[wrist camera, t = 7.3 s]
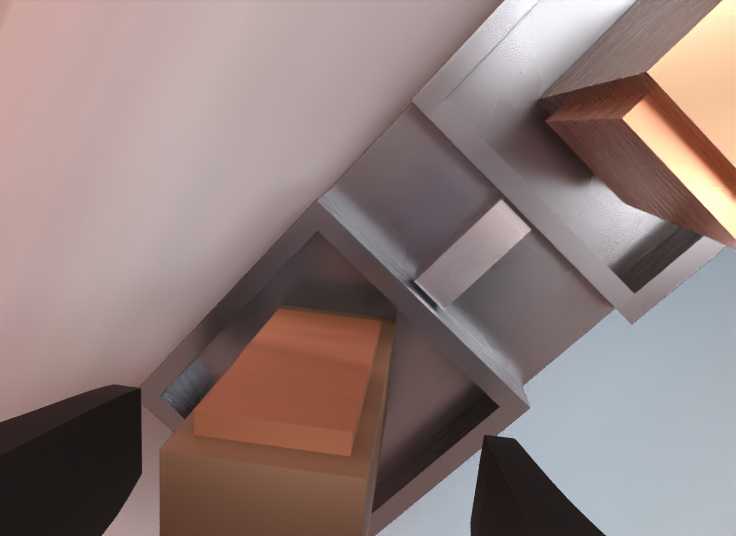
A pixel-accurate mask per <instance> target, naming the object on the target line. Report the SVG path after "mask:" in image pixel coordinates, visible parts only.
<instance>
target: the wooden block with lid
mask: <svg viewBox="0 0 736 536" xmlns="http://www.w3.org/2000/svg"><path fill="white" fill-rule="evenodd" d="M395 324H396V318H389V317H381V316H372V315H364V314H355V313H347V312H338V311H330V310H321V309H313V308H304V307H296V306H287V305H280V307H279V308H278V309H277V310H276V311H275V313H274V314H273V315H272V316H271V317H270V319H269V320H268V321H267V322H266V323H265V325H264V326H263V327H262V328H261V329H260V331H259V332H258V333H257V334H256V335H255V337H254V338H253V339H252V340H251V341H250V343H249V344H248V345H247V346H246V347H245V349H244V350H243V351H242V352H241V353H240V355H239V356H238V357H237V358H236V359H235V361H234V362H233V363H232V364H231V365H230V367H229V368H228V369H227V370H226V371H225V373H224V374H223V375H222V376H221V377H220V379H219V380H218V381H217V382H216V383H215V384H214V386H213V387H212V388H211V389H210V390H209V392H208V393H207V394H206V395H205V396H204V398H203V399H202V400H201V401H200V402H199V404H198V405H197V406H196V407H195V408H194V410H193V411H192V412H191V413H190V414H189V416H188V417H187V418H186V419H185V420H184V422H183V423H182V424H181V425H180V426H179V428H178V429H177V430H176V431H175V432H174V434H173V435H172V436H171V437H170V438H169V440H168V441H167V442H166V443H165V444H164V446H163V447H162V448H161V449H160V536H368V531H369V525H370V518H371V512H372V505H373V499H374V492H375V486H376V479H377V473H378V466H379V460H380V453H381V447H382V440H383V434H384V427H385V419H386V410H387V400H388V391H389V381H390V372H391V362H392V353H393V343H394V334H395Z"/></svg>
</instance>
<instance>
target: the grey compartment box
mask: <svg viewBox="0 0 736 536" xmlns="http://www.w3.org/2000/svg"><path fill="white" fill-rule="evenodd" d="M411 101H412V103H411V104H410V105H409V106H408V107H407V108H406V109H405V110H404V111H403V112H402V114H401V115H400V116H399V117H398V118H397V119H396V120H395V121H394V122H393V123H392V124H391V125H390V126H389V127H388V128H387V129H386V130H385V131H384V133H383V134H382V135H381V136H380V137H379V138H378V139H377V140H376V141H375V142H374V143H373V144H372V145H371V146H370V147H369V148H368V149H367V151H366V152H365V153H364V154H363V155H362V156H361V157H360V158H359V159H358V160H357V161H356V162H355V163H354V164H353V165H352V166H351V167H350V169H349V170H348V171H347V172H346V173H345V174H344V175H343V176H342V177H341V178H340V179H339V180H338V181H337V182H336V183H335V184H334V185H333V186H332V188H331V189H330V190H329V191H328V192H327V193H326V194H324V195H323V196H321V197H320V198H318V199H317V200H316V201H315V202H314V203H313V204H312V205H311V206H310V207H309V208H308V209H307V210H306V211H305V212H304V213H303V214H302V216H301V217H300V218H299V219H298V220H297V221H296V222H295V223H294V224H293V225H292V226H291V227H290V228H289V229H288V230H287V231H286V232H285V234H284V235H283V236H282V237H281V238H280V239H279V240H278V241H277V242H276V243H275V244H274V245H273V246H272V247H271V248H270V249H269V250H268V252H267V253H266V254H265V255H264V256H263V257H262V258H261V259H260V260H259V261H258V262H257V263H256V264H255V265H254V266H253V267H252V268H251V270H250V271H249V272H248V273H247V274H246V275H245V276H244V277H243V278H242V279H241V280H240V281H239V282H238V283H237V284H236V285H235V287H234V288H233V289H232V290H231V291H230V292H229V293H228V294H227V295H226V296H225V297H224V298H223V299H222V300H221V301H220V302H219V303H218V305H217V306H216V307H215V308H214V309H213V310H212V311H211V312H210V313H209V314H208V315H207V316H206V317H205V318H204V319H203V320H202V321H201V323H200V324H199V325H198V326H197V327H196V328H195V329H194V330H193V331H192V332H191V333H190V334H189V335H188V336H187V337H186V338H185V340H184V341H183V342H182V343H181V344H180V345H179V346H178V347H177V348H176V349H175V350H174V351H173V352H172V353H171V354H170V355H169V356H168V358H167V359H166V360H165V361H164V362H163V363H162V364H161V365H160V366H159V367H158V368H157V369H156V370H155V371H154V372H153V373H152V374H151V376H150V377H149V378H148V379H147V380H146V381H145V382H144V383H143V384H142V385H141V386H140V387H139V388H141V403H142V404H143V405H144V406H145V407H146V408H147V409H149V410H150V411H151V412H152V413H153V414H154V415H155V416H156V417H158V418H159V419H160V420H161V421H162V422H163V423H164V424H165V425H166V426H168V427H169V428H170V429H171V430H172V431H173V432H175V431H176V430H177V429H178V428H179V426H180V425H181V424H182V423H183V422H184V420H185V419H186V418H187V417H188V416H189V414H190V413H191V412H192V411H193V410H194V408H195V407H196V406H197V405H198V404H199V402H200V401H201V400H202V399H203V398H204V396H205V395H206V394H207V393H208V392H209V390H210V389H211V388H212V387H213V386H214V384H215V383H216V382H217V381H218V380H219V379H220V377H221V376H222V375H223V374H224V373H225V371H226V370H227V369H228V368H229V367H230V365H231V364H232V363H233V362H234V361H235V359H236V358H237V357H238V356H239V355H240V353H241V352H242V351H243V350H244V349H245V347H246V346H247V345H248V344H249V343H250V341H251V340H252V339H253V338H254V337H255V335H256V334H257V333H258V332H259V331H260V329H261V328H262V327H263V326H264V325H265V323H266V322H267V321H268V320H269V319H270V317H271V316H272V315H273V314H274V313H275V311H276V310H277V309H278V308H279V307H280V305H287V306H296V307H304V308H313V309H321V310H330V311H338V312H347V313H355V314H364V315H372V316H381V317H389V318H396V324H395V334H394V343H393V353H392V362H391V372H390V381H389V391H388V400H387V410H386V419H385V427H384V434H383V440H382V447H381V453H380V460H379V466H378V473H377V479H376V486H375V492H374V499H373V505H372V512H371V518H370V525H369V531H368V536H375V535H376V534H378V533H379V532H380V531H381V530H382V529H384V528H385V527H386V526H387V525H388V524H390V523H391V522H392V521H393V520H395V519H396V518H397V517H398V516H399V515H401V514H402V513H403V512H404V511H406V510H407V509H408V508H409V507H410V506H412V505H413V504H414V503H415V502H416V501H418V500H419V499H420V498H421V497H423V496H424V495H425V494H426V493H427V492H429V491H430V490H431V489H432V488H433V487H435V486H436V485H437V484H438V483H440V482H441V481H442V480H443V479H444V478H446V477H447V476H448V475H449V474H451V473H452V472H453V471H454V470H455V469H457V468H458V467H459V466H460V465H461V464H463V463H464V462H465V461H466V460H468V459H469V458H470V457H471V456H472V455H474V454H475V453H476V452H477V451H478V450H480V449H481V448H482V444H483V438H484V435H491V436H497V435H498V434H499V433H500V432H502V431H503V430H504V429H505V428H506V427H508V426H509V425H510V424H511V423H513V422H514V421H515V420H516V419H517V418H519V417H520V416H521V415H522V414H523V413H525V412H526V411H527V410H528V409H530V405H529V403H528V400H527V397H526V394H525V391H524V388H523V385H524V384H526V383H527V382H528V381H529V380H530V379H532V378H533V377H534V376H535V375H536V374H538V373H539V372H540V371H541V370H542V369H543V368H545V367H546V366H547V365H548V364H549V363H551V362H552V361H553V360H554V359H555V358H557V357H558V356H559V355H560V354H561V353H563V352H564V351H565V350H566V349H567V348H569V347H570V346H571V345H572V344H573V343H575V342H576V341H577V340H578V339H579V338H580V337H582V336H583V335H584V334H585V333H586V332H588V331H589V330H590V329H591V328H592V327H594V326H595V325H596V324H597V323H598V322H600V321H601V320H602V319H603V318H604V317H606V316H607V315H608V314H609V313H610V312H612V311H613V310H614V309H615V308H616V309H617V310H618V311H619V312H620V313H621V314H622V315H623V316H624V317H625V318H626V319H627V320H628V321H629V322H630V323H631V324H633V323H634V322H635V321H637V320H638V319H639V318H640V317H641V316H643V315H644V314H645V313H646V312H648V311H649V310H650V309H651V308H652V307H654V306H655V305H656V304H657V303H659V302H660V301H661V300H662V299H663V298H665V297H666V296H667V295H668V294H669V293H671V292H672V291H673V290H674V289H676V288H677V287H678V286H679V285H680V284H682V283H683V282H684V281H685V280H686V279H688V278H689V277H690V276H691V275H693V274H694V273H695V272H696V271H697V270H699V269H700V268H701V267H702V266H704V265H705V264H706V263H707V262H708V261H710V260H711V259H712V258H713V257H714V256H716V255H717V254H718V253H719V252H721V251H722V250H723V249H724V248H725V247H727V246H730V247H732V248H735V249H736V0H504V1H503V2H502V4H501V5H500V6H499V7H498V8H497V9H496V10H495V11H494V12H493V13H492V14H491V15H490V16H489V17H488V18H487V19H486V20H485V22H484V23H483V24H482V25H481V26H480V27H479V28H478V29H477V30H476V31H475V32H474V33H473V34H472V35H471V36H470V37H469V39H468V40H467V41H466V42H465V43H464V44H463V45H462V46H461V47H460V48H459V49H458V50H457V51H456V52H455V53H454V54H453V55H452V57H451V58H450V59H449V60H448V61H447V62H446V63H445V64H444V65H443V66H442V67H441V68H440V69H439V70H438V71H437V72H436V73H435V75H434V76H433V77H432V78H431V79H430V80H429V81H428V82H427V83H426V84H425V85H424V86H423V87H422V88H421V89H420V90H419V92H418V93H417V94H416V95H415V96H414V97H413V98H412V99H411Z"/></svg>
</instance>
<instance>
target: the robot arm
mask: <svg viewBox="0 0 736 536" xmlns="http://www.w3.org/2000/svg"><path fill="white" fill-rule="evenodd" d="M141 474H142V434H141V388H136V387H129V386H121V385H109V386H105V387H101V388H98V389H94V390H91V391H88V392H85V393H82V394H79V395H76V396H74V397H71V398H68V399H65V400H62V401H60V402H57V403H54V404H51V405H48V406H46V407H43V408H40V409H37V410H35V411H32V412H29V413H26V414H23V415H21V416H18V417H15V418H12V419H9V420H6V421H3V422H0V536H102V534H103V533H104V532H105V531H106V529H107V528H108V527H109V525H110V524H111V523H112V521H113V520H114V519H115V518H116V516H117V515H118V513H119V512H120V510H121V508H122V507H123V505H124V504H125V502H126V500H127V499H128V497H129V495H130V494H131V492H132V490H133V488H134V487H135V485H136V483H137V481H138V479H139V478H140V476H141ZM470 523H471V536H606V535H605V534H603V533H602V532H601V531H600V530H599V529H598V528H597V527H596V526H595V525H594V524H593V523H592V522H591V521H590V520H589V519H588V518H587V517H586V516H584V515H583V514H582V513H581V512H580V511H579V510H578V509H577V508H576V507H575V506H574V505H573V504H572V503H571V502H570V501H569V499H568V498H567V497H566V496H565V495H564V494H563V493H562V492H561V491H560V490H559V489H558V488H557V487H556V485H555V484H554V483H553V482H552V481H551V480H550V479H549V478H548V477H547V475H546V474H545V473H544V472H543V471H542V470H541V469H540V467H539V466H538V465H537V464H536V463H535V462H534V460H533V459H532V458H531V457H530V456H529V454H528V453H527V452H526V451H525V450H524V449H523V447H522V446H521V445H520V444H519V443H518V442H517V441H516V439H513V438H506V437H498V436H491V435H484V438H483V444H482V451H481V457H480V464H479V470H478V477H477V483H476V490H475V496H474V503H473V509H472V516H471V522H470Z"/></svg>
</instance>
